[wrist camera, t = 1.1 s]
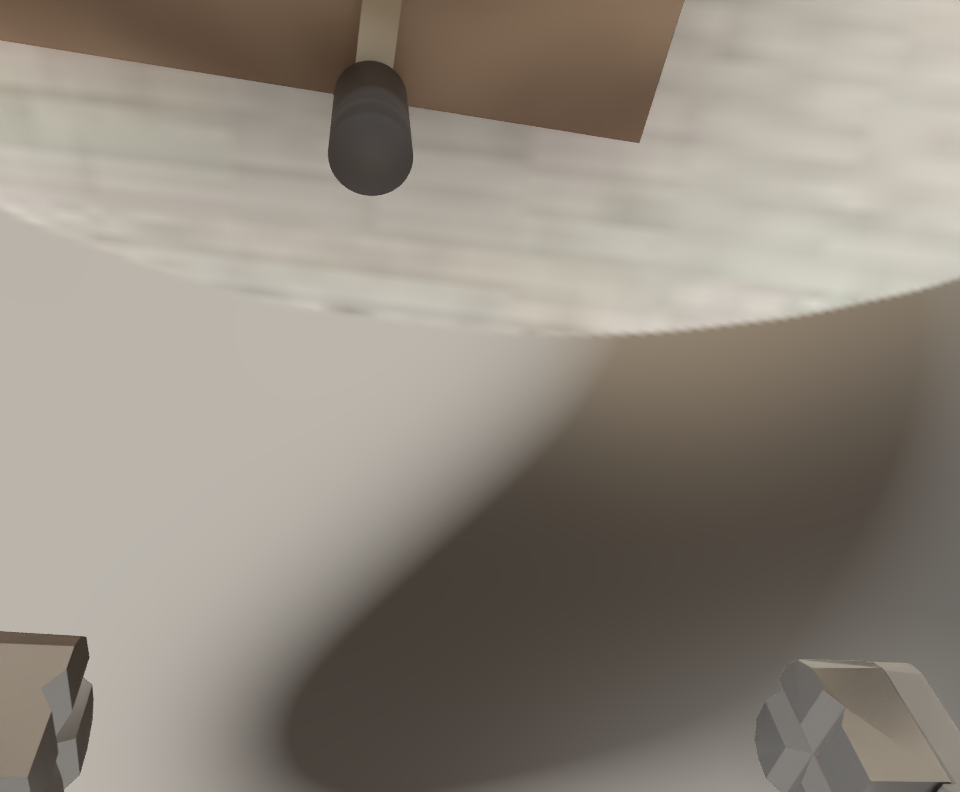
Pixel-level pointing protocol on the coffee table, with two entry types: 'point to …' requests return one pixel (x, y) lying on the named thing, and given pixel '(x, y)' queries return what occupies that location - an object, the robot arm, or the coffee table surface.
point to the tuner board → (418, 56)
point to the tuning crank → (372, 109)
